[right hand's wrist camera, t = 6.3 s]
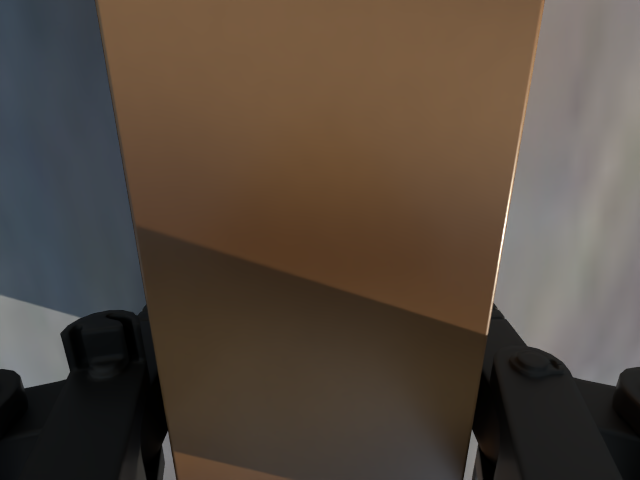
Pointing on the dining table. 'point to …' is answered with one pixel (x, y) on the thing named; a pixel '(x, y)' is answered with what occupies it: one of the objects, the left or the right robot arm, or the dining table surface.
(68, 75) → the dining table surface
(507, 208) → the board
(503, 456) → the right robot arm
